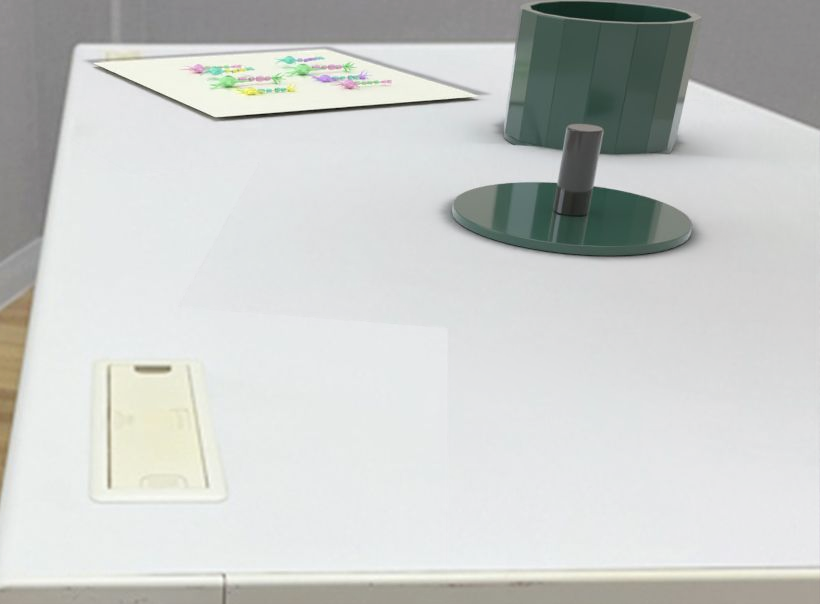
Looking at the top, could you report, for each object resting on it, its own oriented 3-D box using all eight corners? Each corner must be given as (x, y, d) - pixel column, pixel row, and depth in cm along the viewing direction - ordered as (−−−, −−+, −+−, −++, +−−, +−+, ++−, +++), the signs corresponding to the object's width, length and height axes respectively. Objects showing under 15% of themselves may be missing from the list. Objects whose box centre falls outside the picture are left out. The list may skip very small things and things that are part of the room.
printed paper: (215, 121, 110) (215, 104, 109) (92, 66, 132) (92, 51, 131) (479, 99, 122) (481, 84, 121) (326, 52, 144) (327, 39, 143)
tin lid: (669, 206, 89) (690, 110, 85) (708, 273, 75) (734, 163, 72) (450, 192, 91) (462, 97, 87) (450, 255, 77) (464, 146, 74)
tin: (659, 128, 112) (684, 4, 106) (684, 165, 100) (715, 27, 94) (500, 119, 114) (517, -4, 108) (506, 154, 102) (526, 18, 96)
